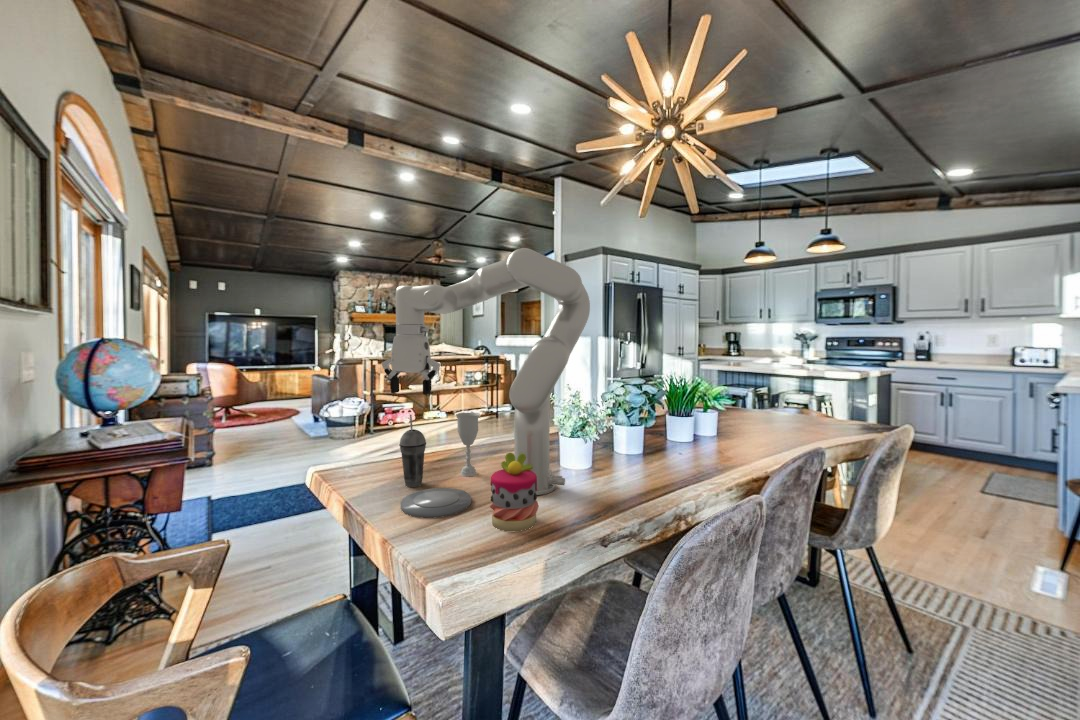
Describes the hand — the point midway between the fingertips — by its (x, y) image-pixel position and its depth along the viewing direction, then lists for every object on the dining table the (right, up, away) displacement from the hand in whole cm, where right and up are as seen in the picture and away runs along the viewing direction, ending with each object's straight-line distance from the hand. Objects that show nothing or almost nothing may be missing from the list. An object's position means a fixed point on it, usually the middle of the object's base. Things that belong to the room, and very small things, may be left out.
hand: (410, 393), depth 128 cm
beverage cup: (0, -26, +1) cm, 26 cm away
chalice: (+14, -25, +11) cm, 31 cm away
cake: (+30, -27, -24) cm, 47 cm away
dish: (+10, -27, -13) cm, 31 cm away
